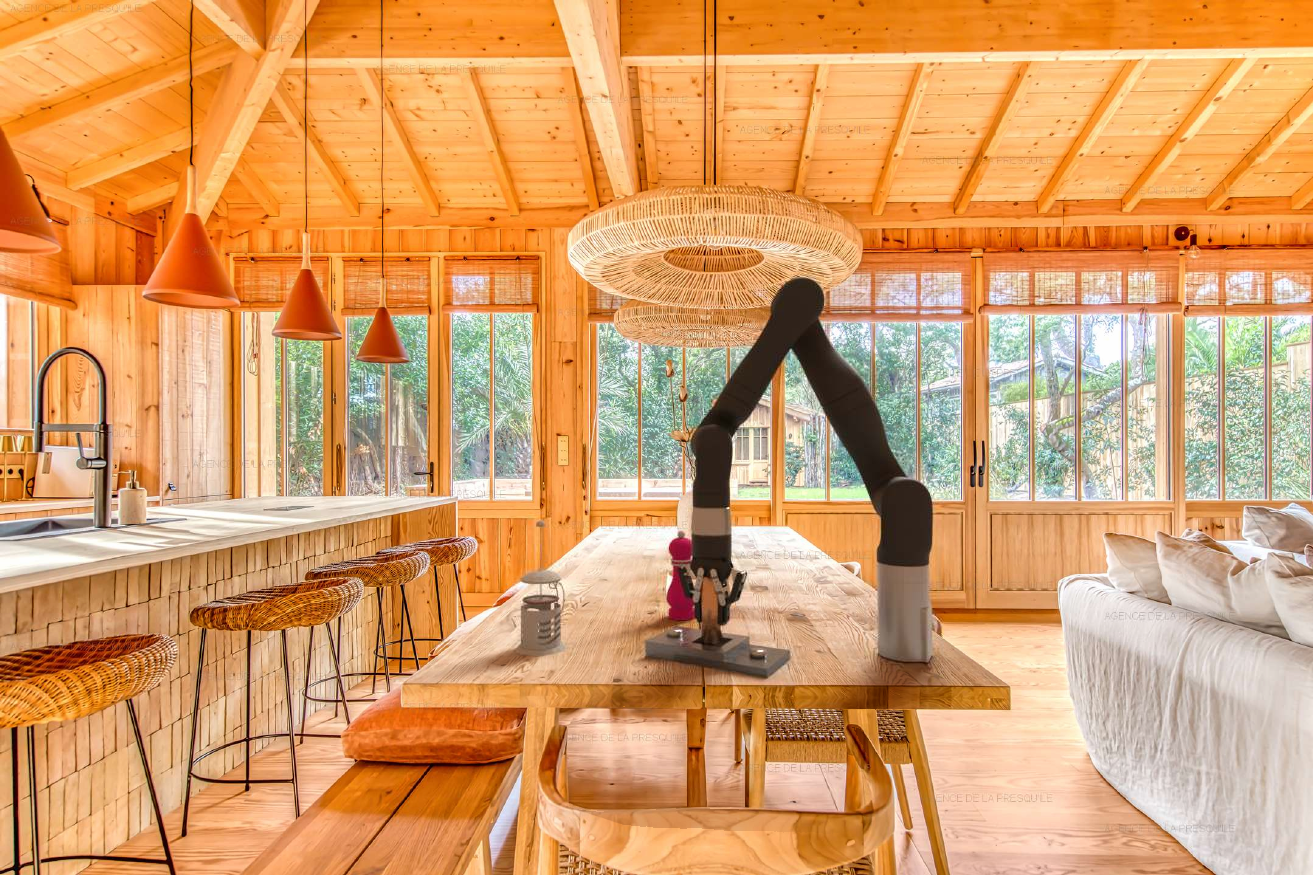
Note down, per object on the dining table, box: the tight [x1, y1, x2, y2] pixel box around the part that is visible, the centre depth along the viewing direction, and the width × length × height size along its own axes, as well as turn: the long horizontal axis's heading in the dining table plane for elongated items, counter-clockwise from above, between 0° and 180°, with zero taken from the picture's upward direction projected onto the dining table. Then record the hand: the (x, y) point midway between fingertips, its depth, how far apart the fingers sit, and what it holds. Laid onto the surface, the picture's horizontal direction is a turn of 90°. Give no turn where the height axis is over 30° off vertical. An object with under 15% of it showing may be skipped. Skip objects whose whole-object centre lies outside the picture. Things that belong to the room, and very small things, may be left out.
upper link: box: [644, 625, 751, 663], centre depth 125 cm, size 16×12×4 cm
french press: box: [515, 520, 567, 657], centre depth 131 cm, size 10×12×25 cm
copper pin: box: [700, 576, 724, 644], centre depth 124 cm, size 4×4×12 cm
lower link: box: [673, 643, 791, 679], centre depth 121 cm, size 18×12×2 cm, turn 60°
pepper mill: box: [665, 530, 695, 621], centre depth 154 cm, size 7×7×20 cm
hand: (711, 622), depth 124 cm, fingers closed on copper pin, 4 cm apart
